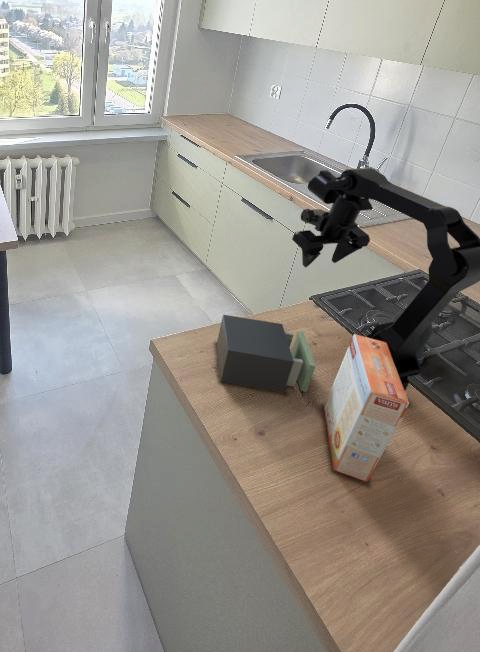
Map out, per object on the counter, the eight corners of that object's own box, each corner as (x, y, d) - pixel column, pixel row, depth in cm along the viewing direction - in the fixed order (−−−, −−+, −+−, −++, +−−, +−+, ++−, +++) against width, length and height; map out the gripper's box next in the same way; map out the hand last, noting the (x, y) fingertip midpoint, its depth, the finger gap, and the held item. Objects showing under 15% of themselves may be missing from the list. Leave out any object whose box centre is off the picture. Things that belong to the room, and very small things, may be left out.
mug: (420, 372, 98) (438, 335, 93) (375, 350, 103) (391, 314, 98) (427, 344, 106) (444, 309, 101) (385, 325, 111) (400, 291, 107)
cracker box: (369, 484, 74) (411, 404, 66) (332, 471, 76) (368, 391, 67) (354, 416, 86) (388, 341, 78) (322, 406, 88) (352, 331, 79)
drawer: (300, 357, 99) (308, 332, 96) (312, 392, 90) (322, 367, 87) (241, 347, 101) (247, 322, 98) (247, 381, 92) (254, 355, 89)
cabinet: (273, 353, 101) (282, 323, 97) (283, 392, 91) (294, 361, 87) (216, 343, 102) (223, 314, 99) (220, 381, 93) (228, 350, 89)
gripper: (347, 193, 109) (325, 240, 117) (288, 199, 103) (269, 247, 111) (383, 219, 100) (356, 267, 107) (320, 226, 94) (297, 277, 102)
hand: (319, 263), depth 107 cm, fingers open, 9 cm apart
